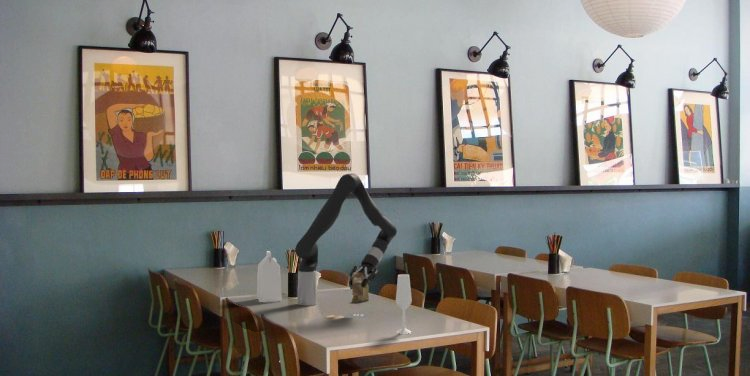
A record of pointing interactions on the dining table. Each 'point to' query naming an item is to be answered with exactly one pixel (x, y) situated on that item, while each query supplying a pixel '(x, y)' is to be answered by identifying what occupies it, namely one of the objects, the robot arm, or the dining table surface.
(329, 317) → the coaster
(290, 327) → the dining table surface
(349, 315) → the blue-gray tile
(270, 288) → the milk
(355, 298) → the rock
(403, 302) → the champagne flute
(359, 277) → the walnut block
